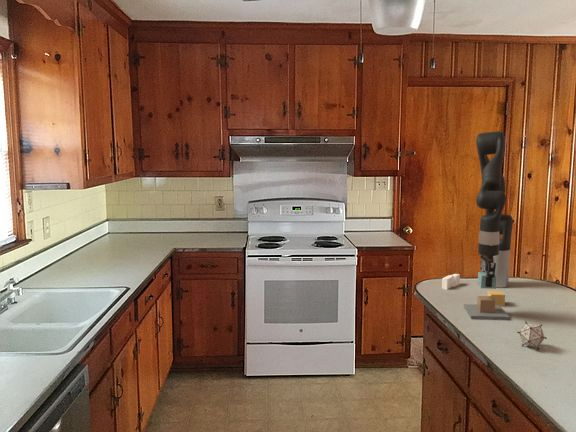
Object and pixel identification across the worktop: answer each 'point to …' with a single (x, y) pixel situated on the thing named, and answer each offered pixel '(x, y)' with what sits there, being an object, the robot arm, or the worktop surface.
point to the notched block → (450, 281)
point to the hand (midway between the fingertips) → (486, 284)
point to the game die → (532, 335)
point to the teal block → (483, 280)
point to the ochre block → (498, 297)
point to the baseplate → (485, 315)
